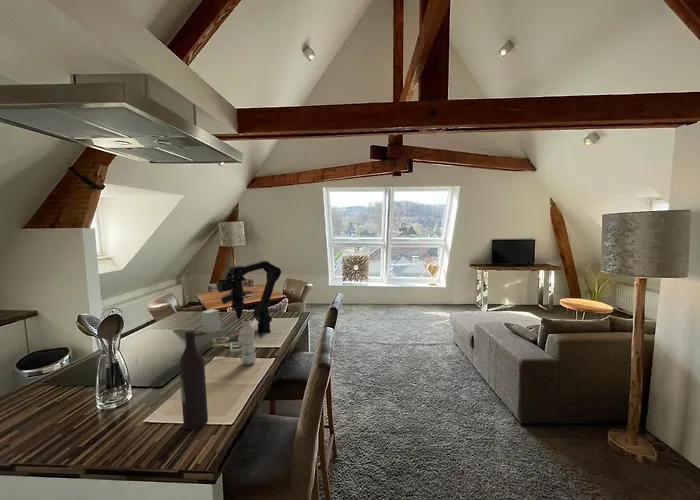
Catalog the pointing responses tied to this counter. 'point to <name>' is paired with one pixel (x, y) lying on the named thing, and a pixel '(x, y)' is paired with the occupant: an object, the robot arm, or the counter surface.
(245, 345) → the plastic bottle
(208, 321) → the supplement box
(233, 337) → the pulley board
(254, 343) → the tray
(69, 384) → the counter surface
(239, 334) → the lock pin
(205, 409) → the wine bottle
